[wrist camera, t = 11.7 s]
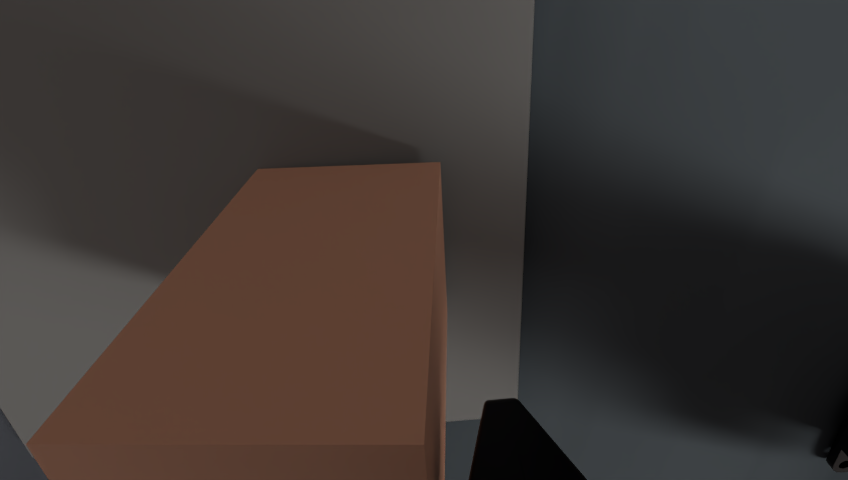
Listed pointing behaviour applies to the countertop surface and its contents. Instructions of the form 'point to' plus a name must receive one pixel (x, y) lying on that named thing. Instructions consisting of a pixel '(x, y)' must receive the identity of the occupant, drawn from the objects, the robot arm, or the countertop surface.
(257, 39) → the mat
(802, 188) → the countertop surface
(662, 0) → the countertop surface
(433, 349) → the block
